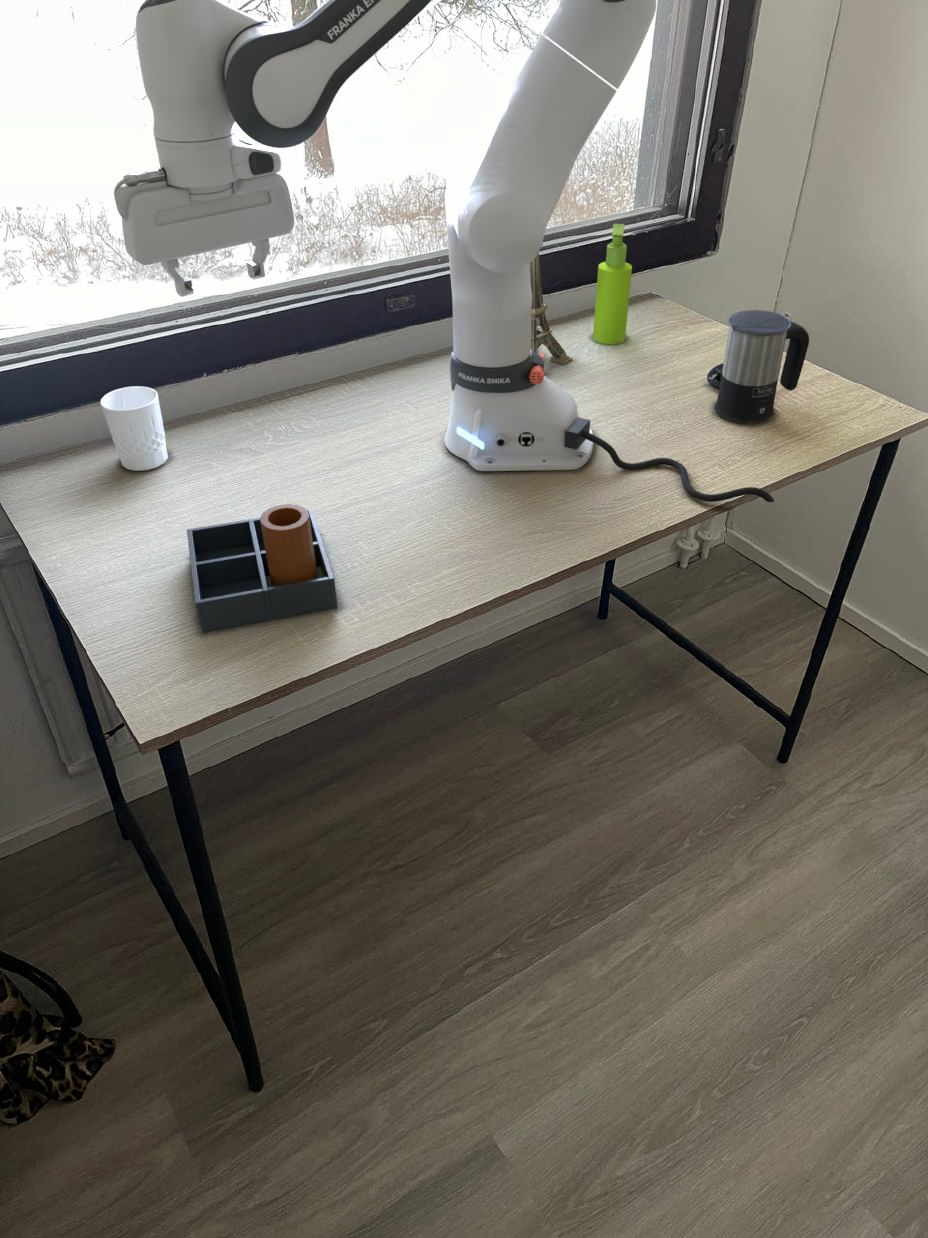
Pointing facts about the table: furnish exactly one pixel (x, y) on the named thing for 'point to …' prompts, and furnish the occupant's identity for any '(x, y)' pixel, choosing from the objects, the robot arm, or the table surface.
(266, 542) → the jar
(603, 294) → the soap dispenser
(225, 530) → the compartment tray
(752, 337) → the milk frother
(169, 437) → the table surface
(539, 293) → the eiffel tower
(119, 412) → the white cup
